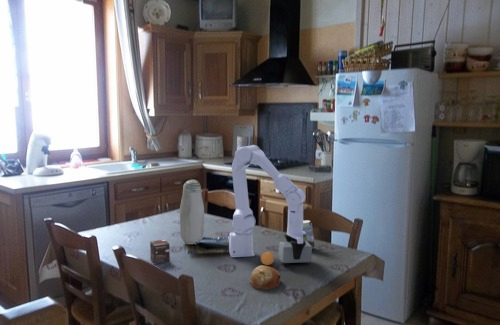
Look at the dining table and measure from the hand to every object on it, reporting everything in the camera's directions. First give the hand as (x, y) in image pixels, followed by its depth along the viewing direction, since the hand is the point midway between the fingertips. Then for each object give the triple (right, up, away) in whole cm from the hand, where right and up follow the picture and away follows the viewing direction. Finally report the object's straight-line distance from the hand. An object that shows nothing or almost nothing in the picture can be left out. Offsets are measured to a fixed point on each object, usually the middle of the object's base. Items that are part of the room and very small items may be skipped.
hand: (294, 255), depth 155 cm
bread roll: (-12, -6, -18) cm, 22 cm away
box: (-51, -2, +1) cm, 52 cm away
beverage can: (+7, -1, +17) cm, 18 cm away
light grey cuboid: (0, -1, 0) cm, 1 cm away
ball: (-10, -1, -2) cm, 11 cm away
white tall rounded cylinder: (-42, 0, +21) cm, 47 cm away
